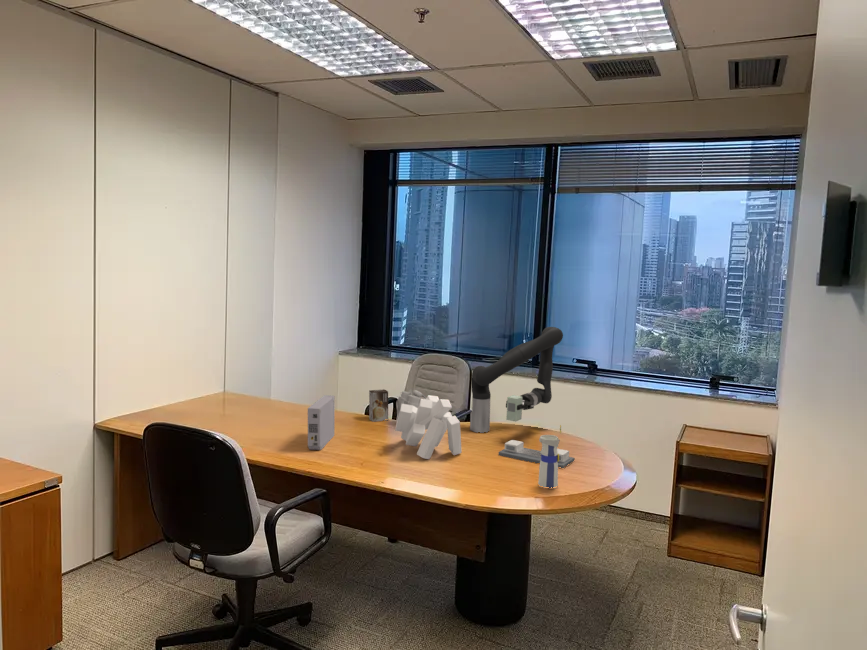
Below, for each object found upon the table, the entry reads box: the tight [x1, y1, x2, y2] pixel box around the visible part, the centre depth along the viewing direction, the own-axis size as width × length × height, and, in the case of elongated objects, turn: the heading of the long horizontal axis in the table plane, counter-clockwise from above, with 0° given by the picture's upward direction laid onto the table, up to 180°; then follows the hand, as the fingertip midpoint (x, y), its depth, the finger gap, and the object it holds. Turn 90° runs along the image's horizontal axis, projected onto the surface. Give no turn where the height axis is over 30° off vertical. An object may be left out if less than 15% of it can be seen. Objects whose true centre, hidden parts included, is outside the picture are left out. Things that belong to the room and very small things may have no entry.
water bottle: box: [537, 424, 562, 488], centre depth 248 cm, size 8×9×25 cm
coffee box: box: [368, 388, 389, 423], centre depth 342 cm, size 9×6×16 cm
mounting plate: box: [503, 447, 570, 463], centre depth 282 cm, size 29×7×1 cm, turn 56°
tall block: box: [505, 394, 523, 423], centre depth 302 cm, size 5×6×11 cm
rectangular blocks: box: [504, 439, 570, 462], centre depth 282 cm, size 28×7×3 cm, turn 56°
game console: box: [307, 394, 335, 451], centre depth 299 cm, size 6×27×20 cm, turn 174°
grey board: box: [497, 447, 576, 469], centre depth 282 cm, size 31×13×2 cm, turn 56°
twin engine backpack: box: [395, 389, 427, 420], centre depth 332 cm, size 18×19×20 cm
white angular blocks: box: [394, 394, 463, 460], centre depth 287 cm, size 35×30×35 cm
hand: (512, 407), depth 299 cm, fingers closed on tall block, 5 cm apart
